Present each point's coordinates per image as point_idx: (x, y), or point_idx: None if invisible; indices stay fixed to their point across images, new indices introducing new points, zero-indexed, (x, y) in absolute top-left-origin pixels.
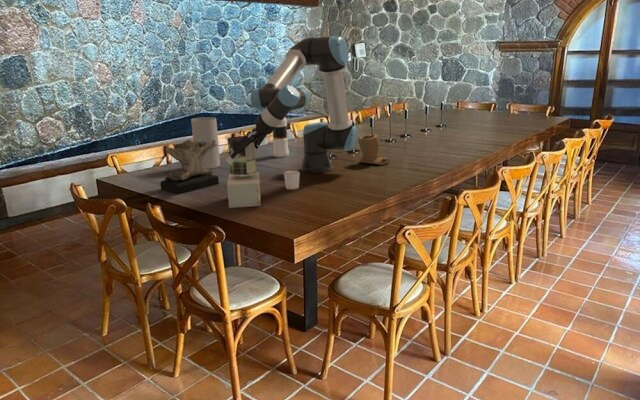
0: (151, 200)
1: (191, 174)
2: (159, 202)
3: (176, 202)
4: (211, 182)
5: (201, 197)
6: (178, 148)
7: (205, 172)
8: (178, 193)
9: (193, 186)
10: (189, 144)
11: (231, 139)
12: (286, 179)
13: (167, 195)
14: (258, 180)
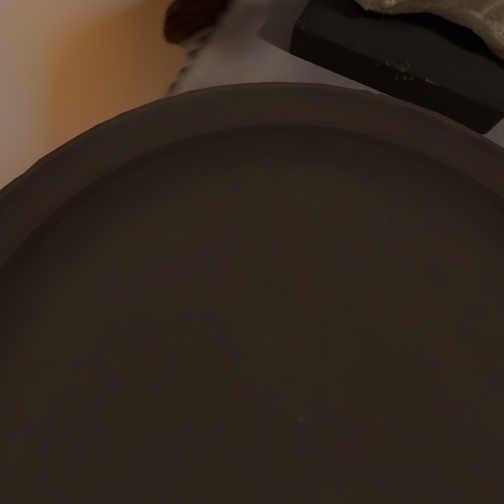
0: (198, 3)
1: (422, 8)
2: (177, 37)
3: (186, 91)
4: (455, 108)
5: None
6: None
7: (497, 44)
8: (291, 50)
9: (364, 68)
10: None
11: (144, 206)
12: None
13: (270, 24)
14: None
